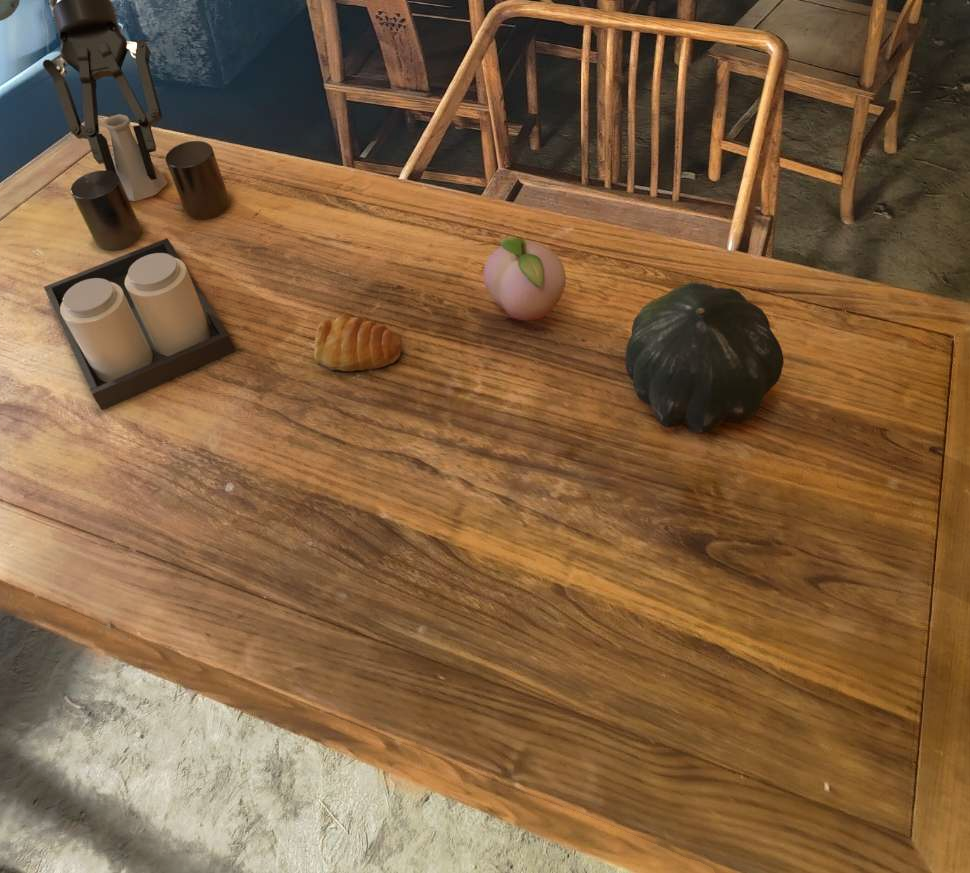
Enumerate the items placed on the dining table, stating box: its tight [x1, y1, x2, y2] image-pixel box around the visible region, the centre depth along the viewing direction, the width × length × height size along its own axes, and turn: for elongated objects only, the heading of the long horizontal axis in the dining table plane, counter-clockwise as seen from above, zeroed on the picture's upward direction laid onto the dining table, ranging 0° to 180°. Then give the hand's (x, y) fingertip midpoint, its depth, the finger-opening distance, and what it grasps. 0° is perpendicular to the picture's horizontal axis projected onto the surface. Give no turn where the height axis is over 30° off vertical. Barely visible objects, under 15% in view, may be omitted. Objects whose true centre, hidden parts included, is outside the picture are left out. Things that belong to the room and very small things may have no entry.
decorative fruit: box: [482, 236, 567, 322], centre depth 101 cm, size 9×8×10 cm
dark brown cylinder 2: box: [165, 140, 231, 221], centre depth 121 cm, size 6×6×8 cm
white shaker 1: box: [60, 278, 153, 383], centre depth 100 cm, size 7×7×10 cm
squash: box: [624, 282, 784, 435], centre depth 90 cm, size 14×15×15 cm
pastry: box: [313, 314, 403, 372], centre depth 101 cm, size 9×7×4 cm
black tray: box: [43, 237, 236, 411], centre depth 108 cm, size 22×16×3 cm
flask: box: [102, 113, 168, 202], centre depth 124 cm, size 7×7×10 cm
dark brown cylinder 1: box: [70, 169, 143, 252], centre depth 118 cm, size 6×6×8 cm
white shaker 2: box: [125, 253, 211, 356], centre depth 102 cm, size 7×7×10 cm
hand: (133, 181), depth 123 cm, fingers closed on flask, 4 cm apart
